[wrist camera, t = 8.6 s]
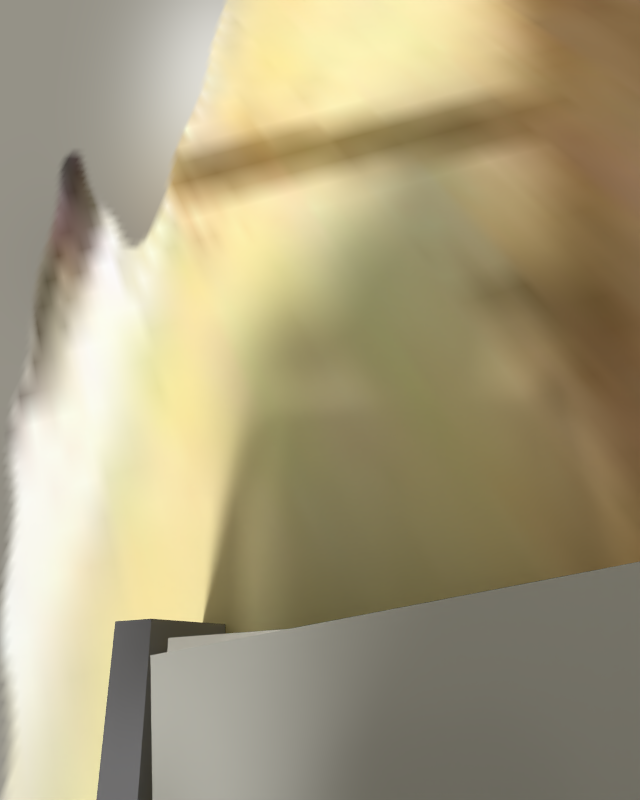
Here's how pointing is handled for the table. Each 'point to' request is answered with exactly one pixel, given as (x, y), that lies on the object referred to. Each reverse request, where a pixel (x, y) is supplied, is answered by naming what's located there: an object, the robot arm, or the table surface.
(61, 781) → the table surface
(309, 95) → the table surface
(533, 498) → the table surface
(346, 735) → the grey rectangular block
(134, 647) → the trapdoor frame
